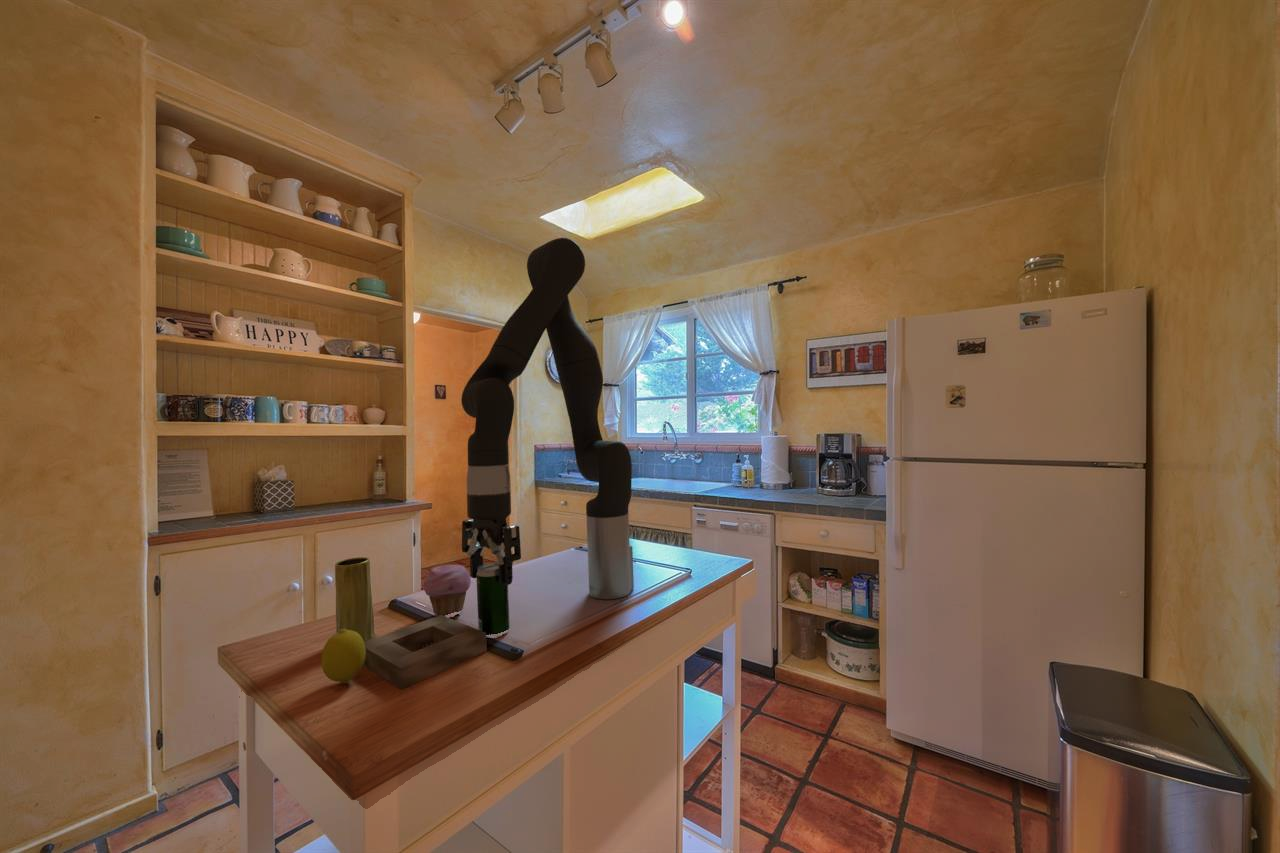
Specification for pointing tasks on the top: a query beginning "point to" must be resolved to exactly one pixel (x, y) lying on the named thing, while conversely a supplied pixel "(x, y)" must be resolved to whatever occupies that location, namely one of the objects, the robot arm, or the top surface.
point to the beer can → (491, 600)
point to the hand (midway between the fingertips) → (490, 580)
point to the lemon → (343, 655)
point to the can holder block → (423, 650)
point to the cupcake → (447, 588)
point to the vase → (354, 597)
